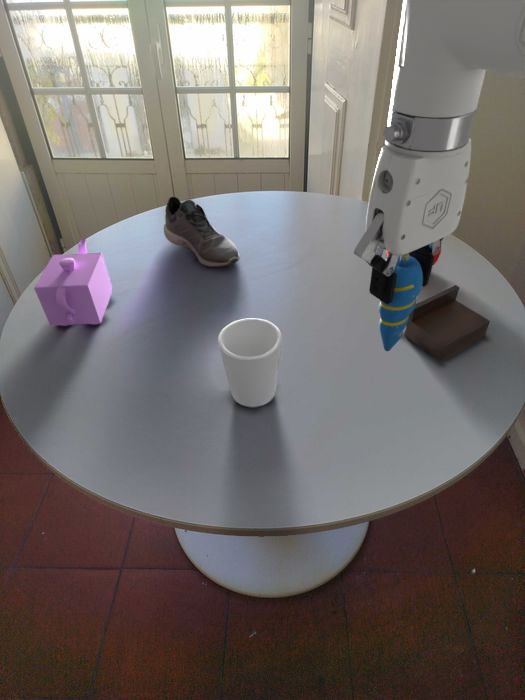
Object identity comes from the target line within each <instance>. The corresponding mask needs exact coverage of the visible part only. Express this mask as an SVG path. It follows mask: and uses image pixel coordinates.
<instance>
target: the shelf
mask: <svg viewBox="0 0 525 700" xmlns="http://www.w3.org/2000/svg"><path fill="white" fill-rule="evenodd" d="M459 292H460V286H459V285H457V284H454V285H452V286H450V287H448V288H446V289H443V290H442V291H440V292H438V293H436V294H434V295H432V296H430V297H428V298H426V299H424V300H422V301H419V302H416V305H415V307H414V309H413V311H412V312H411V314H410V315H409V320H408V323H407V325H406V327H405V329H404V330H405V331H404V336H405V338H407V339H409V340H410V341H411V342H413V344H415V345H416V346H418V347H419V348H421V349H422V350H423V351H424V352H426V353H428V354H429V355H430V356H432V357H433V358H434V359H436V360H437V361H439V363H441V362H443V361H445V360H447V359H448V358H450V357H452V356H453V355H455V354H457V353H459V352H461V351H463V350H464V349H466V348H468V347H470V346H472V345H473V344H475V343H477V342H479V341H480V340H482V339H485V336H486V334H487V332H488V329H489V325H490V323H491V320H489V318H486V317H485V316H483V315H481V314H479V313H478V312H476V311H474V310H473V309H471V308H469V307H468V306H467V305H465V304H463V303H462V302H460V301H458V300H457V298H458V295H459Z"/></svg>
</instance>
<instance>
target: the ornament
mask: <svg viewBox="0 0 525 700" xmlns="http://www.w3.org/2000/svg"><path fill="white" fill-rule="evenodd" d="M384 260H385V261H387V258H386V259H384ZM393 272H394V273H396V274H397V278H396V284H395V289H394V295H393V300H392V302H391V303H389V304H385V303H384V302H382V301H381V300H379V301H380V302H379V303H378V312H379V317H380V319H379V322H378V329H379V333H380V338H381V341H382V346H383V349H384V351H385V352H389V351H391V350H392V349H393V348H394V346H395V345H397V343H398V342H399V341H400V340H401V339H402V337H403V332H404V330H406V326H407V323H408V320H409V315H410V314H411V312H412V311H413V309H414V307H415V305H416V304H417V299H418V296H419V295H420V293H421V291H422V288H423V286H422V284H423V274H422V269H421V266H420V263H419V262H418V261H417V260H416V259H415V258H413V257H411V256H409V253H407V254H404V255H401V256H399V259H398V261H397V264H396V266H395V269H394V271H393Z"/></svg>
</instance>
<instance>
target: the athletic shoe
mask: <svg viewBox="0 0 525 700" xmlns="http://www.w3.org/2000/svg"><path fill="white" fill-rule="evenodd" d="M164 216H165V217H164V218H165V219H164V221H165V223H164V226H163V234H164V236H165V238H166V240H167V241H169V242H170V243H172V244H174V245H176V246H180V247H183V248H187V249H189V250H191V251H192V252H193V253H194V254H195V256H196V258H197V260H198V262H199V263H200V264H201V265H203V266H206V267H210V268H222V267H227V266H230V265H232V264H234V263H236V262H238V261H239V260H240V259H241V255H240V252H239V250H238V248H237V246H236V245H235V244H234V242H233V241H232V240H230V238H228V237H226V236H225V235H224V234H222V233H220V232H219V231H218V230H217V229H216V228H215V227H214V226H213V224H212V223H211V222H210V220H209V219H208V217H207V215H206V213H205V209H204V208H202V206H200V204H199V203H197V204H196V202H195V201H194V200H192V199H186V200H184V201H182V202H181V201H180V199H179V198H178V197H176V196H170V197H169V198H168V200H167V203H166V206H165V215H164Z"/></svg>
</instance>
